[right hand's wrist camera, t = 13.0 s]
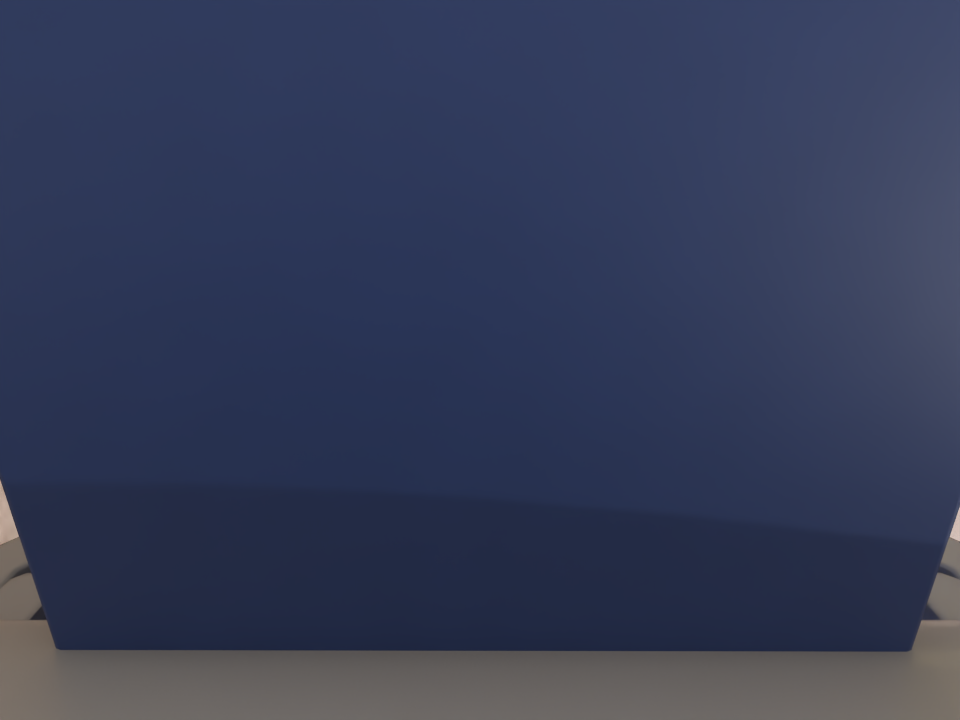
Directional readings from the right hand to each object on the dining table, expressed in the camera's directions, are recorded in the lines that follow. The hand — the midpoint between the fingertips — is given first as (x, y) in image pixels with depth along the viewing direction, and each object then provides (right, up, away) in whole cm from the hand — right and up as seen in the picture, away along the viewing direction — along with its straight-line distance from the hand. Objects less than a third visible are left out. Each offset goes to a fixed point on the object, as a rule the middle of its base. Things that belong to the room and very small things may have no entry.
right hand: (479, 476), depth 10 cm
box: (0, +10, +3) cm, 10 cm away
